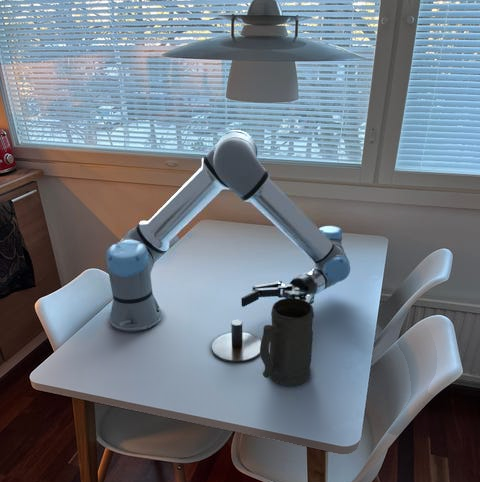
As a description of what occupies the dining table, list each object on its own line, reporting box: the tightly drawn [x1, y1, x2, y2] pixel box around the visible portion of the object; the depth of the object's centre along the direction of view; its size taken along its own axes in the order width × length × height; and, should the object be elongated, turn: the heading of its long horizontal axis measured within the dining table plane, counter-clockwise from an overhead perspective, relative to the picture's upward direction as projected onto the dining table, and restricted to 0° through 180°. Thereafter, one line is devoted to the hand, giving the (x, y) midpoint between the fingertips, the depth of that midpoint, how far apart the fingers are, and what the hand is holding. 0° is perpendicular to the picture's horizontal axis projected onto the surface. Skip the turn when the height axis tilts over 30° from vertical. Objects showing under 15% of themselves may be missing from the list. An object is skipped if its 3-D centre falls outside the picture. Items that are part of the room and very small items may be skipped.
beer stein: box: [259, 298, 315, 387], centre depth 115 cm, size 15×11×20 cm
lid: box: [211, 319, 262, 364], centre depth 129 cm, size 14×14×8 cm
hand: (259, 310), depth 132 cm, fingers open, 13 cm apart
